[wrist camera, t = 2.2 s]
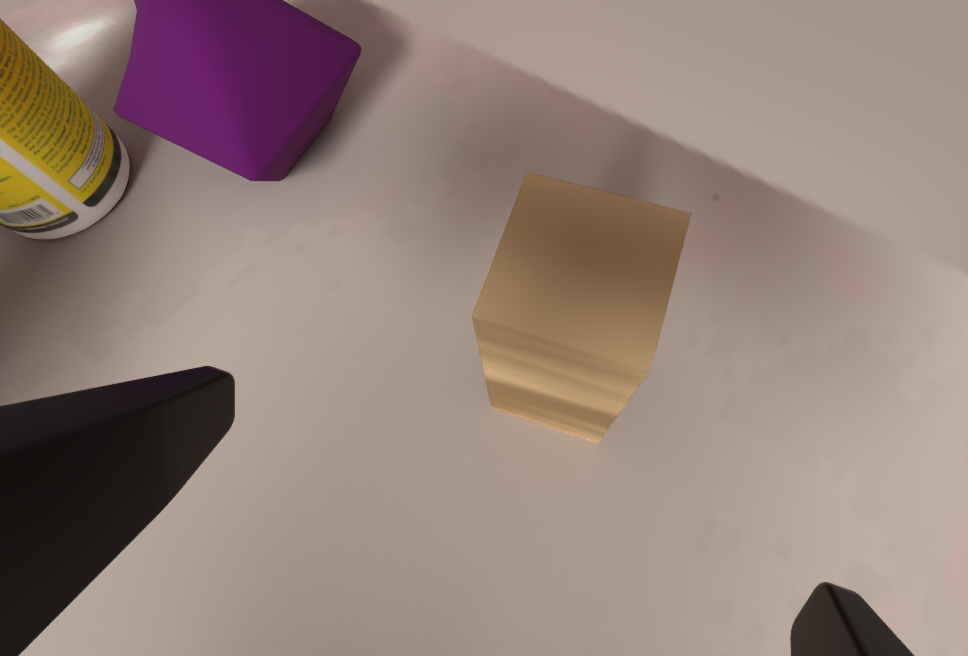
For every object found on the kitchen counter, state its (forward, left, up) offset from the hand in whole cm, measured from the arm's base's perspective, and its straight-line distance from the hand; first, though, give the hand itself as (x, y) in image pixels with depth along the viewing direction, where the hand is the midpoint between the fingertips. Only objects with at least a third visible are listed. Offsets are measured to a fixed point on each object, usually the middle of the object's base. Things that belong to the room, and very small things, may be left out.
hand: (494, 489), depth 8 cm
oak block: (+4, +3, -12) cm, 13 cm away
